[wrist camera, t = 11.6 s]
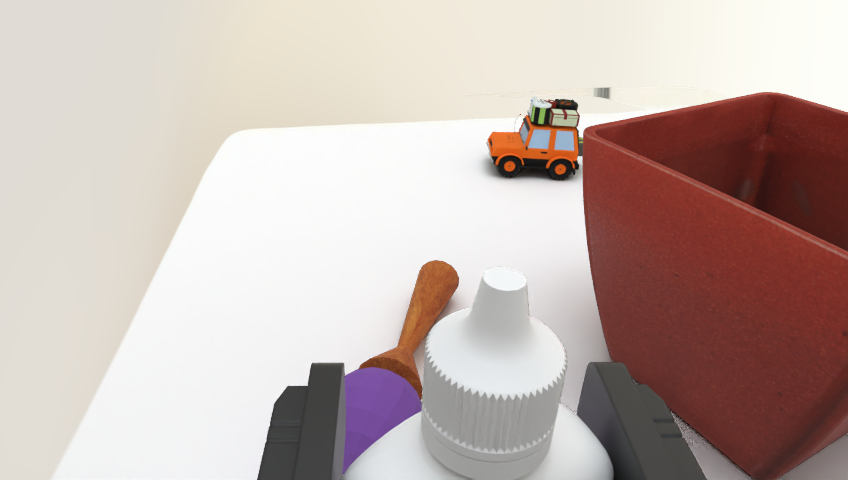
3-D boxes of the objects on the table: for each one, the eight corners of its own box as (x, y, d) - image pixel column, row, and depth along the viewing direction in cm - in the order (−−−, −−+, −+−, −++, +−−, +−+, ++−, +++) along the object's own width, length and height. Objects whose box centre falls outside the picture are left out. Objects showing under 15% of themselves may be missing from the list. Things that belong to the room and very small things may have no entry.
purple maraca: (484, 259, 46) (421, 442, 29) (463, 320, 49) (394, 521, 32) (412, 235, 47) (307, 399, 29) (396, 296, 50) (291, 480, 32)
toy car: (591, 182, 70) (605, 108, 65) (489, 180, 69) (496, 105, 65) (576, 159, 76) (588, 89, 71) (482, 157, 75) (488, 87, 71)
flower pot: (780, 567, 30) (938, 292, 21) (538, 344, 44) (575, 126, 36) (961, 428, 38) (1125, 191, 30) (709, 279, 52) (772, 89, 44)
